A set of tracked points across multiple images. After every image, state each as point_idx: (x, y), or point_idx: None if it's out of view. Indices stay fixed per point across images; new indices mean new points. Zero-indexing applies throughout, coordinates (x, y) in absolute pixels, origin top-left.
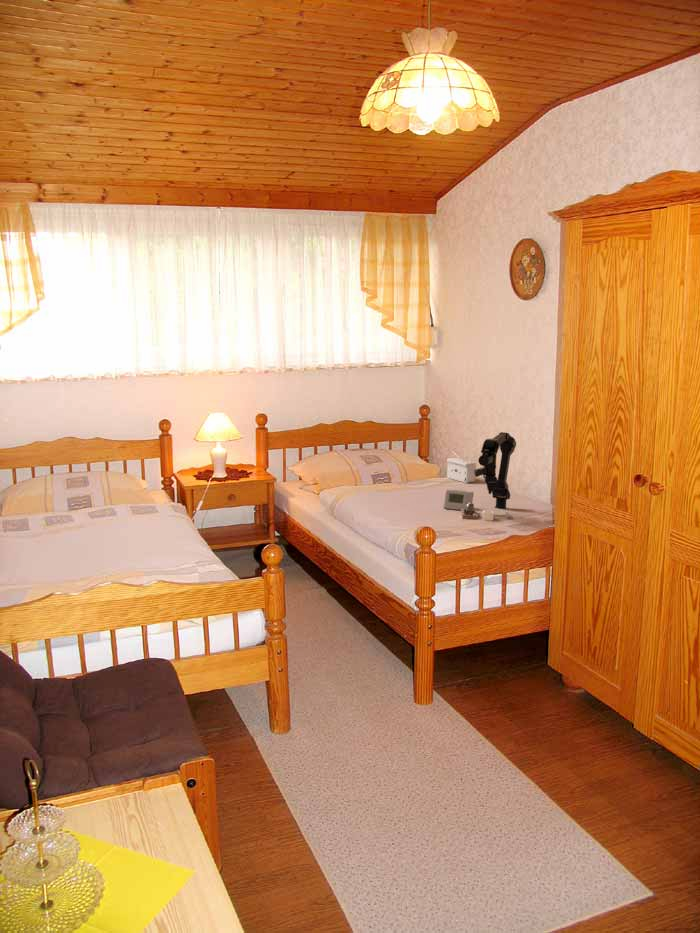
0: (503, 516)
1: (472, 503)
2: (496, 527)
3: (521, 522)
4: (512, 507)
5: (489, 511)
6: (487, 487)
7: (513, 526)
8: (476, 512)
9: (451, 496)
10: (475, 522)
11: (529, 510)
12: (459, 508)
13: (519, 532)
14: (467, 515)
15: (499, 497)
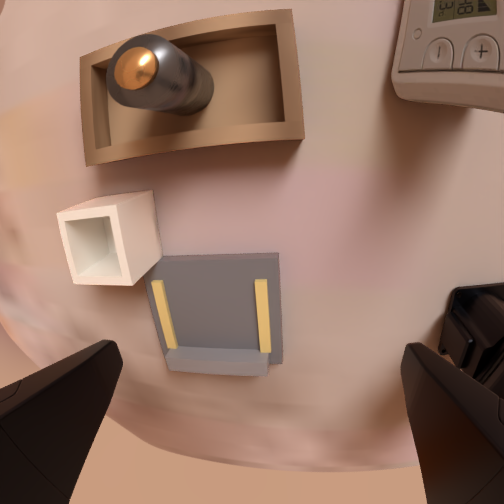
0: (226, 335)
1: (162, 88)
2: (37, 270)
3: (169, 394)
4: None
5: (121, 258)
6: (423, 372)
7: (84, 347)
8: (183, 139)
9: None
10: (77, 151)
11: None
12: (404, 13)
13: (28, 346)
14: (80, 89)
15: (498, 357)
